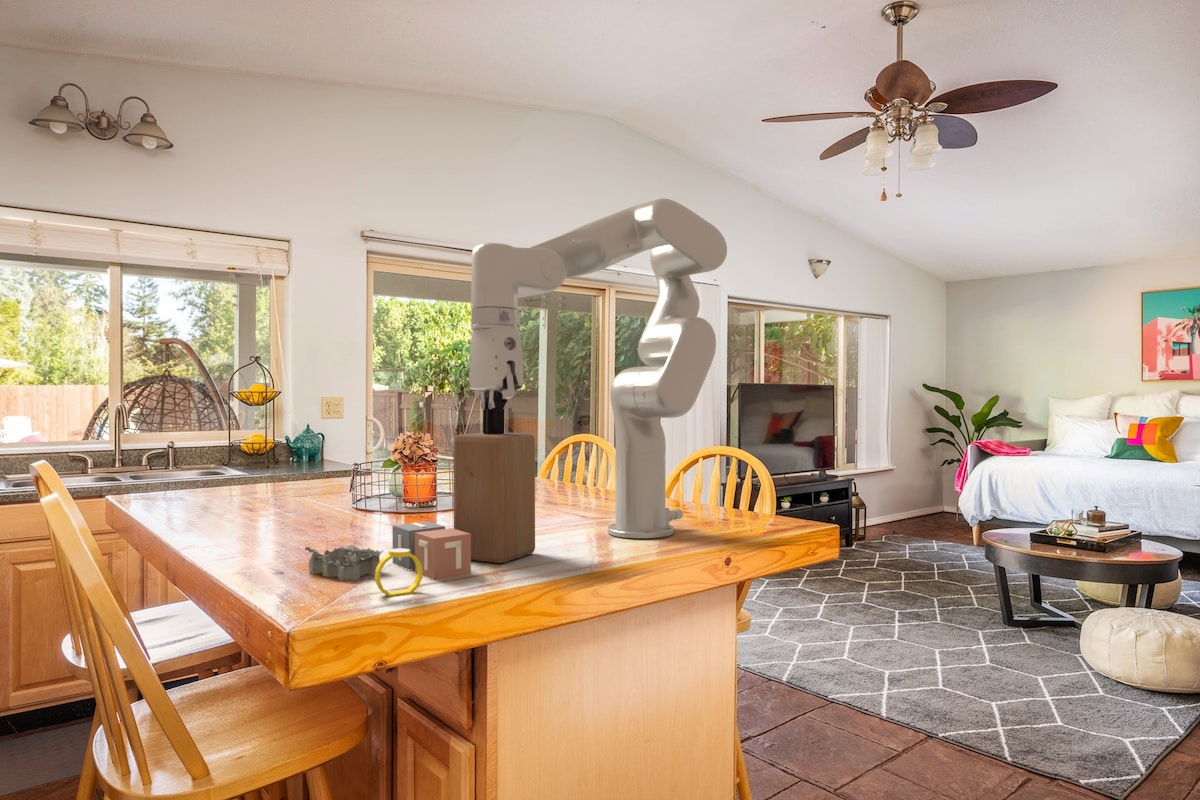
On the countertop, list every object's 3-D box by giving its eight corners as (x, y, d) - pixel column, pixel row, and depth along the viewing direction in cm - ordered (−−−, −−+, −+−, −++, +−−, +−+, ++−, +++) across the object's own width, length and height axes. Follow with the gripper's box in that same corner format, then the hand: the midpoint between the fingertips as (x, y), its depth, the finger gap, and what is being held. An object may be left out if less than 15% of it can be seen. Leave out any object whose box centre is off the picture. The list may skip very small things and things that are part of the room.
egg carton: (301, 573, 112) (301, 546, 112) (345, 564, 118) (345, 538, 118) (343, 584, 105) (343, 555, 105) (388, 573, 111) (387, 546, 111)
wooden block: (451, 559, 120) (450, 434, 120) (488, 547, 129) (488, 431, 129) (502, 565, 115) (502, 436, 115) (537, 553, 124) (537, 433, 124)
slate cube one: (427, 558, 121) (427, 520, 121) (445, 565, 116) (445, 525, 116) (391, 563, 117) (391, 524, 117) (408, 571, 112) (408, 529, 112)
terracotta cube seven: (451, 567, 115) (451, 528, 115) (471, 574, 110) (471, 533, 110) (413, 573, 111) (413, 532, 111) (432, 581, 106) (432, 539, 106)
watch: (416, 591, 102) (419, 547, 102) (423, 596, 99) (426, 551, 99) (372, 594, 99) (375, 548, 99) (377, 599, 96) (380, 552, 96)
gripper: (539, 319, 119) (538, 435, 119) (490, 326, 130) (489, 431, 130) (498, 315, 114) (497, 436, 114) (451, 323, 125) (450, 432, 125)
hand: (493, 433), depth 122 cm, fingers closed
